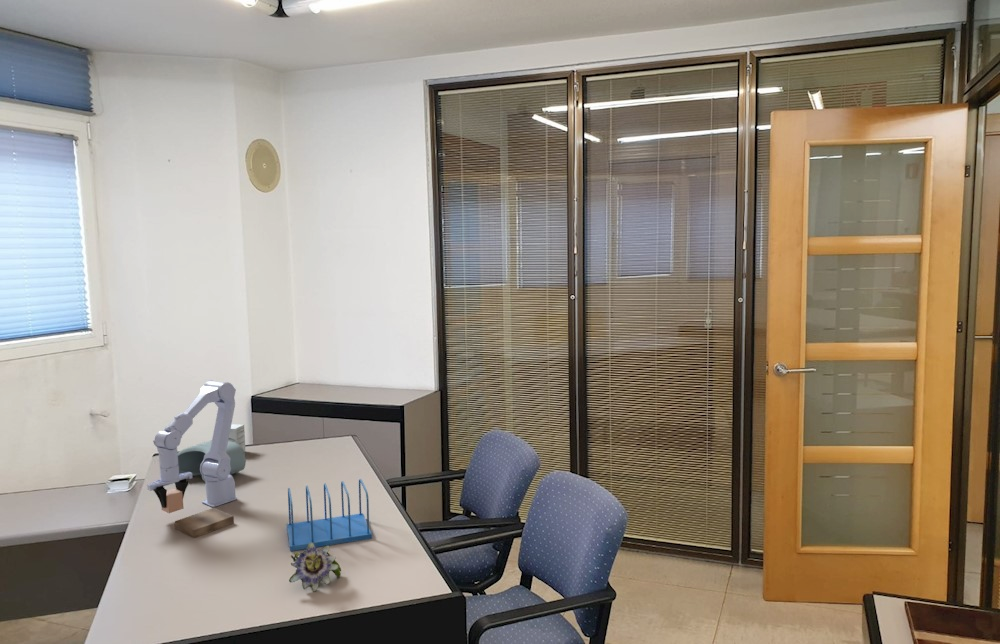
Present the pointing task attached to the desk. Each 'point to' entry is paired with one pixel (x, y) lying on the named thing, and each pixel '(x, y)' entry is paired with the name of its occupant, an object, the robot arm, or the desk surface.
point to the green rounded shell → (195, 454)
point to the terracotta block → (173, 501)
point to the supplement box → (237, 435)
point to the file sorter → (328, 524)
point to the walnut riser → (204, 522)
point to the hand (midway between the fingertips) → (172, 504)
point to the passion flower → (314, 567)
